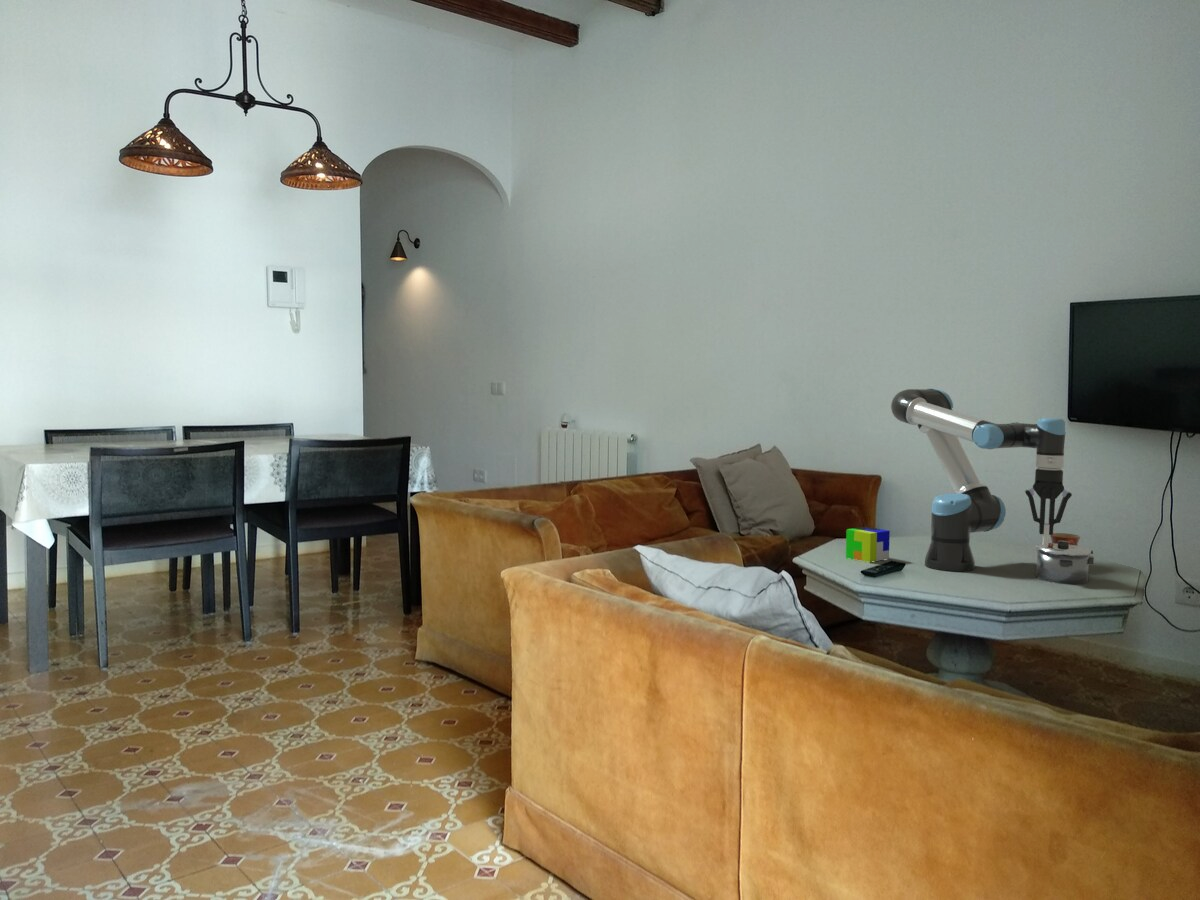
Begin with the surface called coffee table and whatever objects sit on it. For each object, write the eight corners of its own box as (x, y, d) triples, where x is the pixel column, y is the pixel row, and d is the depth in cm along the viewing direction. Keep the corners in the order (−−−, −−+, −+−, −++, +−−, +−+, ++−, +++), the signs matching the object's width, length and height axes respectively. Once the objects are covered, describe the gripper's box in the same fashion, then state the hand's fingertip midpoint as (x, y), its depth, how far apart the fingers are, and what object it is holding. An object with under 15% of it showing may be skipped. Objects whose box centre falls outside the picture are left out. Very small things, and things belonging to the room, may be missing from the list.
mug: (1045, 563, 289) (1046, 532, 288) (1073, 564, 287) (1075, 533, 286) (1056, 570, 277) (1057, 538, 276) (1086, 571, 275) (1087, 539, 274)
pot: (1039, 583, 259) (1040, 557, 259) (1033, 570, 277) (1034, 545, 276) (1096, 587, 254) (1097, 560, 253) (1087, 574, 271) (1088, 549, 270)
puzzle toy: (888, 559, 294) (889, 530, 293) (869, 563, 289) (870, 533, 288) (864, 555, 302) (865, 526, 302) (845, 558, 297) (846, 529, 296)
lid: (1037, 553, 261) (1038, 543, 260) (1033, 545, 274) (1033, 535, 274) (1096, 557, 255) (1096, 547, 255) (1088, 548, 269) (1089, 539, 268)
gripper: (1026, 468, 263) (1023, 545, 265) (1074, 470, 259) (1070, 548, 260) (1024, 466, 270) (1021, 541, 272) (1071, 468, 265) (1067, 544, 267)
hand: (1045, 545), depth 266 cm, fingers closed
